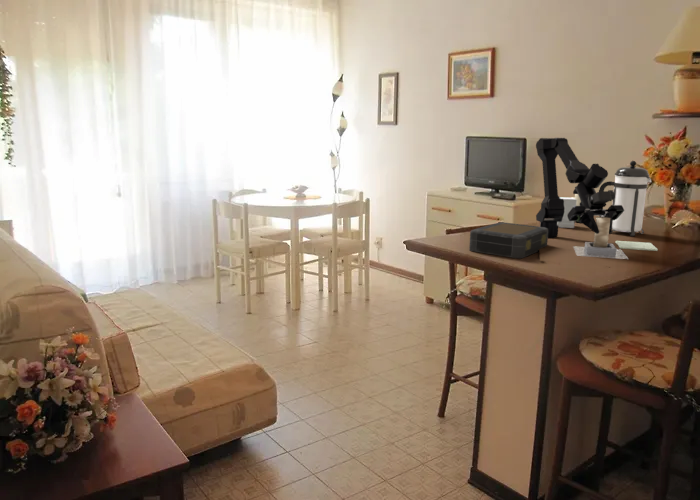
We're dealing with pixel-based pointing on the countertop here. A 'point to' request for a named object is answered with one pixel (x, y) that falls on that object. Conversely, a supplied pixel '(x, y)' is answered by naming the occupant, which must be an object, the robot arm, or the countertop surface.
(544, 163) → the robot arm
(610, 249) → the grey square socket base
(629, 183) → the coffee press
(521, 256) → the cash box
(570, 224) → the supplement box
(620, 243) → the green pad
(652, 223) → the countertop surface
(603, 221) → the ash peg
